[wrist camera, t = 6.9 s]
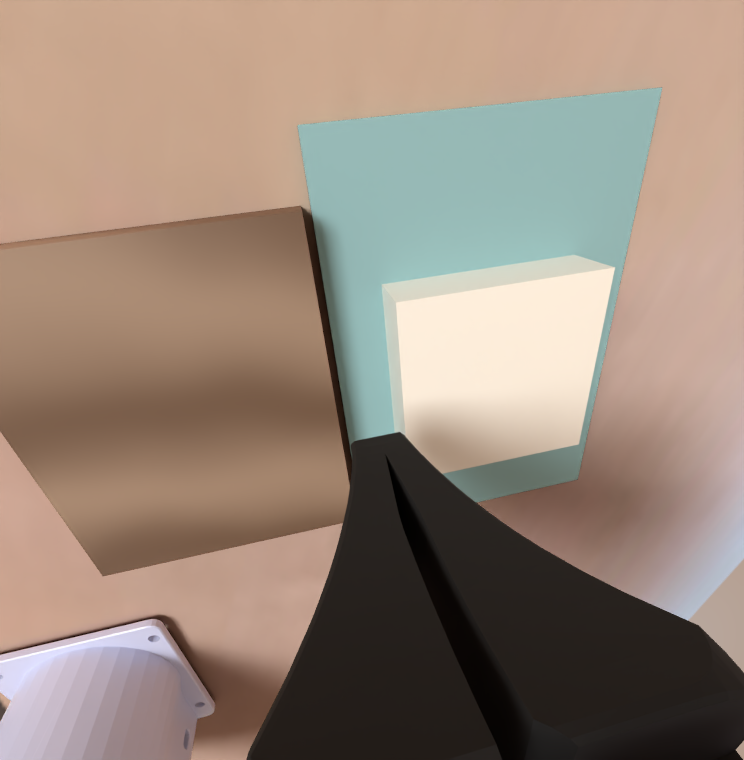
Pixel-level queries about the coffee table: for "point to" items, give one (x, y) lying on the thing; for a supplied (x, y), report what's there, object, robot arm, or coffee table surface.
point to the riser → (172, 385)
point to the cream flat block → (495, 358)
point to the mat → (468, 227)
